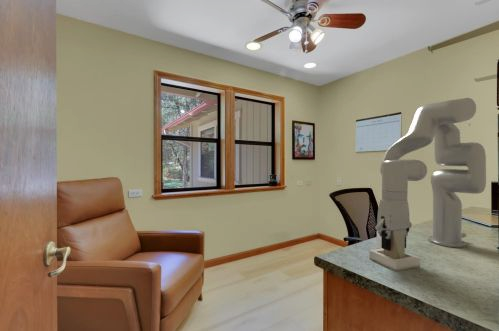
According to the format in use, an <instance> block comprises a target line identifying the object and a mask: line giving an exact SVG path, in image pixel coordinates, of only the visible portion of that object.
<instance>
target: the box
mask: <svg viewBox="0 0 499 331" xmlns="http://www.w3.org/2000/svg"><path fill="white" fill-rule="evenodd" d="M386 229H387V227H386ZM385 233H386V234H387V231H385ZM389 239H391V251H388V250H385V249H384V255H386V256H389V257H391V258H393V259H401V258H405V252H406V250H405V249H406V248H405V230H404V229H398V230H393V231H391V235H390V238H389Z"/></svg>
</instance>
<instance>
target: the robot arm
mask: <svg viewBox="0 0 499 331" xmlns="http://www.w3.org/2000/svg"><path fill="white" fill-rule="evenodd" d="M476 112H477V105H476V102H475V100H474V99H473V98H470V97H463V98H459V99H458V98H456V99H449V100H443V101H438V102H433V103H428V104H424V105H421V106H420V107H418V108H417V109H416V111H415V113H414V115H413V117H412V120H411V122H410V125H409V127H408V129H407V133H406V134H405V135H404V136H403V137H401V138H399V139H398V140H397V141H396V142H395V143H393V144H392V145H391V146H390V147H389V148H388V149H387V150H386V152H385V153H384V157H383V159H382V160H381V164H380V170H379V171H380V174H381V199H379V204H378V207H377V208H378V209H377V218H376V225H375V227H374V229H375V230H376V232H377V231H378V233H379V234H380V237H382V245H381V247H382V248H383V249H385V250H388V251H391V239H389V238H390V235H391V231H393V230H398V229H404V230H405V249H407V237H408V234H409V232H410V229H411V228H412V226H413V224H412V222H411V220H410V207H409V202H408V190H409V188H408V185H409V184H408V182H418V181H421V180H423V179H425V177H426V176H427V174H428V167H427V165H426V163H425V162H424V161H422V160H419V159H401V158H402V157H403V156H404V157H405V155H407V154H409V153H412V152H415V151H418V150H420V149H422V148H423V149H424V148H426V147H427V146H429V145H430V144H432V142H433V140H434V142H433V143H434V160H435V162H436V163H435V164H437V165H439V166H443V167H466V168H467V169H458V168H457V169H456V168H455V169H453V168H442V169H436V170H434V171H433V172H432V173H431V175H430V184H431V189H432V190H431V191H432V205H433V206H432V235H430V236H428V238H427V240H428V241H430V243H433V244H436V245H440V246H444V247H449V248H465V247H467V242H465V240H462V238H466V237H467V233H466V232H462V224H463V223H462V221H463V220H462V217H463V216H462V215H463V214H462V212H463V211H462V210H463V204H462V201H461V199H460V197H459V196H458V195H457V193H458V194H459V193H463V194H474V195H475V194H482V193H483V192H484V191H485V189H486V186H487V156H486V155H487V154H486V150H485V147H484V146H483V145H482V144H481V143H479V142H475V141H473V142H472V141H471V142H461V132H460V129H459V128H458V126H457V125H456V124H459V123H462V122H467V121H469V120H471V119H473V118H474V117H475V114H476ZM386 227H387V229H386ZM385 231H387V234H386V233H385Z"/></svg>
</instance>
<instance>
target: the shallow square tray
mask: <svg viewBox="0 0 499 331" xmlns="http://www.w3.org/2000/svg"><path fill="white" fill-rule="evenodd" d="M368 257H369V259H370V260H372V261H374V262H375V263H378V264H380V265H382V266H384V267H387V268H388V269H391V270H393V271H394V272H399V271H404V270H409V269H414V268H419V267H420V264H421V262H420V261H421V260H420V259H421V258H420V257H419V256H416V255H414V254H411V253H409V252H406V251H405V258H401V259H393V258H391V257H389V256H386V255H384V249H383V248H382V249H378V248H376V249H370V250H369V256H368Z"/></svg>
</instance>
